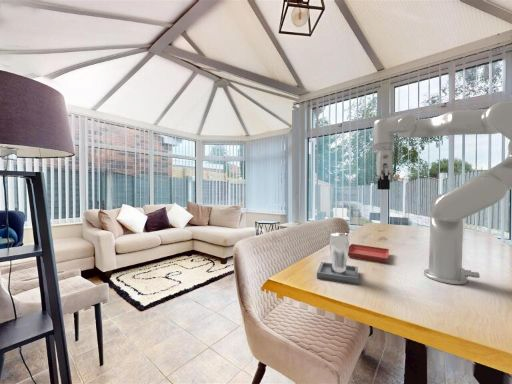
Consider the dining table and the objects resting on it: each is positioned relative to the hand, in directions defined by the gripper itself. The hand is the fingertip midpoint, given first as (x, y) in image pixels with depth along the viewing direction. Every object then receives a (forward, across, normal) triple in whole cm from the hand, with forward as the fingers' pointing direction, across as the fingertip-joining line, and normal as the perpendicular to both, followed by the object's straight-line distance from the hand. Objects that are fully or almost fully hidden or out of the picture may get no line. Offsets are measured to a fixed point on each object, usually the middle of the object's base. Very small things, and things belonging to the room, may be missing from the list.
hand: (383, 189), depth 97 cm
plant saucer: (+33, +15, +5) cm, 37 cm away
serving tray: (+33, -17, +18) cm, 41 cm away
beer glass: (+32, -17, +17) cm, 40 cm away
